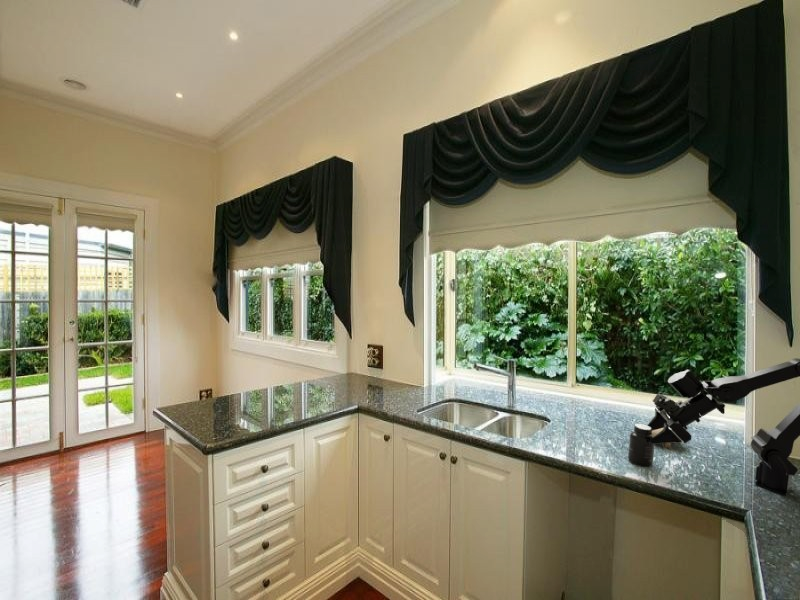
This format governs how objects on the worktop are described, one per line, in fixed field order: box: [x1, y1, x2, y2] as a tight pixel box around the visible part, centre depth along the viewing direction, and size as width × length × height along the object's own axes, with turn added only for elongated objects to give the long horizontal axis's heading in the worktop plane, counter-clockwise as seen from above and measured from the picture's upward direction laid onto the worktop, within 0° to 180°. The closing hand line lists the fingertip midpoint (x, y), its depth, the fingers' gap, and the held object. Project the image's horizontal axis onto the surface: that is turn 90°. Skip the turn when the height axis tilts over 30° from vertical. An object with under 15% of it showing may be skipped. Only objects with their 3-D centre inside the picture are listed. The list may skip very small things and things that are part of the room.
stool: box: [652, 428, 683, 449], centre depth 138 cm, size 12×12×4 cm
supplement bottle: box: [627, 423, 656, 468], centre depth 122 cm, size 7×7×12 cm
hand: (648, 436), depth 121 cm, fingers open, 9 cm apart
